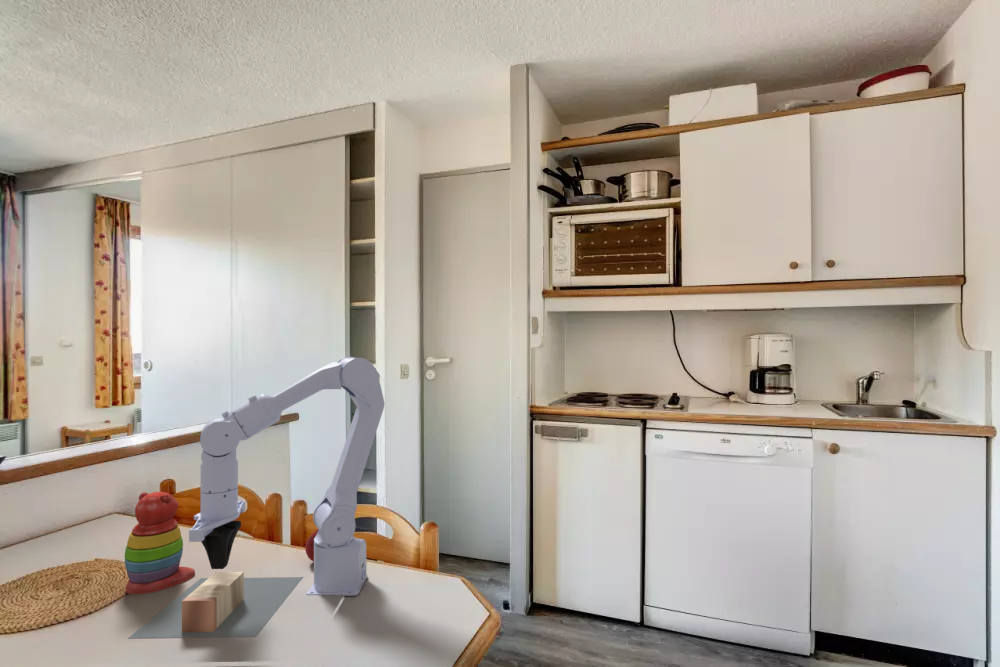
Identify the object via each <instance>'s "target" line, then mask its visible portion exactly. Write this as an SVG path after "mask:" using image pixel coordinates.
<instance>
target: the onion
mask: <svg viewBox="0 0 1000 667" xmlns="http://www.w3.org/2000/svg"><path fill="white" fill-rule="evenodd" d="M318 531H319V529H318V528H317V529H316V530H315V531H314V532H312V533H311V535H310V536H309V537H308V539H307V540H306V543H305V548H304V551H305V553H306V555H307V558H308V559H309V560H310V561H312V562H313V563H314V538H315V537H316V535H317V533H318Z"/></svg>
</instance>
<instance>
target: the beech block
mask: <svg viewBox="0 0 1000 667" xmlns="http://www.w3.org/2000/svg"><path fill="white" fill-rule="evenodd" d="M244 574H245V572H244V571H220V572H219V571H218V572H217V571H216V572H214V573H213V574H212V575H211V576H209V577H207V578H208V579H207V580H206V581H205V582H204V583H202V584H201V585H200V586H199V587H198V588H197V589H195V590H194V591H193V592H192V593H191V594H189V595H188V596H187V597H186V598H185V599H184V600H182V632H214V630H215V629H216V628H217V627H218V626H219V625H220V624H221V623H222V622H223V621H224V620H225V619H226V618H227V617H228V616H229V615H230V614H231V613H232V611H233V610H234V609H235V608H236V607H237V606H238V605H239V604H240V603H241V602H242V601H243V600H244V578H245V577H244Z"/></svg>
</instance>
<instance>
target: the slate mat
mask: <svg viewBox="0 0 1000 667" xmlns="http://www.w3.org/2000/svg"><path fill="white" fill-rule="evenodd" d="M208 578H209V577H207V578H206V577H203V578H202V577H201V578H199V579H198V580H197V581H196V582H195V583H194V582H193V583H194V584H192V585H191V586H189V587H188V588H187V589H186V590H185V591H184V592H182V593H180V595H179V596H177V597H176V598H175V599H174V600H172V602H169V604H168V605H166V606H165V607H164V608H162V610H160V611H159V612H158V613H157V614H156V615H154V616H153V617H152V618H151V619H150V620H148V621H147V622H145V623H144V624H143V625H142V626H141V627H140V628H138V629H137V630H136V631H135V632H134V633H133V634H131V635H130V636H129V637H128V638H127V639H132V640H133V639H189V638H191V639H193V638H194V639H198V638H199V639H200V638H201V639H202V638H206V639H207V638H256V637H257V636H258V635H259V634H260V632H261V631H262V630H263V628H264V627H265V626H266V625H267V624H268V623H269V621H270V620H271V619H272V618H273V616H274V615H275V614H276V613H277V611H278V610H279V608H280V607H281V606H282V605H283V604H284V603H285V601H286V599H287V598H288V597H289V596H290V595H291V593H293V591H294V590H295V588H296V587H297V586H298V585H299V583H300V582H301V581H302V579H303V578H304V577H302V576H288V577H287V576H285V577H284V576H283V577H282V576H280V577H279V576H277V577H274V576H273V577H271V576H270V577H244V600H243V601H242V602H241V603H240V604H239V605H238V606H237V607H236V608H235V609H234V610H233V611H232V613H231V614H230V615H229V616H228V617H227V618H226V619H225V620H224V621H223V622H222V623H221V624H220V625H219V626H218V627H217V628H216V629H215V630H214V632H182V600H184V599H185V598H186V597H187V596H188V595H189V594H191V593H192V592H193V591H194V590H195V589H197V588H198V587H199V586H200V585H201V584H202V583H204V582H205V581H206V580H207V579H208Z"/></svg>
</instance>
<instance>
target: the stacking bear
mask: <svg viewBox="0 0 1000 667" xmlns="http://www.w3.org/2000/svg"><path fill="white" fill-rule="evenodd" d="M178 508H179V502H178V501H177V500H176V498H175V497H174V496H173V495H172V494H170V493H168V492H163V491H155V492H150V493H148V492H146V491H145V492H141V493H140V494H139V496H138V501H137V503H136V505H135V508H134V515H135V518H136V521H137V522H138V523H137V524H135V526H134V527H133V528H132V530H131V532H130V534H129V536H128V539H127V542H126V546H125V551H124V566H125V569H126V573H127V578H128V580H127V583H126V586H125V592H126V591H127V592H126V593H127V594H133V595H143V594H144V595H145V594H149V593H155V592H159V591H163V590H167V589H169V588H172V587H175V586H177V585H180V584H182V583H184V582H186V581H188V580H190V579H192V578H193V577H195V576H196V575H195V574H196V572H195V569H194V568H193V567H188V566H180V564H181V560H182V557H183V551H184V542H183V541H184V540H183V537H182V531H181V528H180V525H178V521H177V520H176V519H175V518H174V516H175V514H176V512H177V510H178Z"/></svg>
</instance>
